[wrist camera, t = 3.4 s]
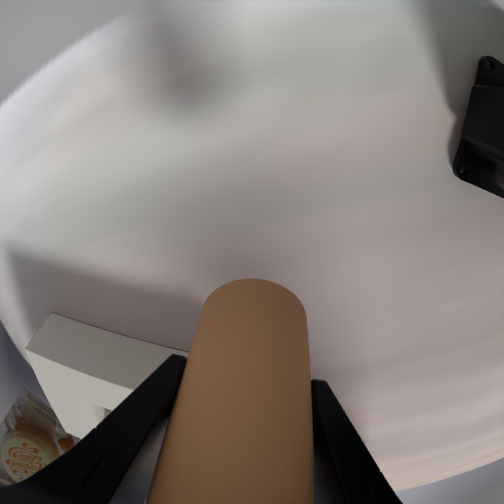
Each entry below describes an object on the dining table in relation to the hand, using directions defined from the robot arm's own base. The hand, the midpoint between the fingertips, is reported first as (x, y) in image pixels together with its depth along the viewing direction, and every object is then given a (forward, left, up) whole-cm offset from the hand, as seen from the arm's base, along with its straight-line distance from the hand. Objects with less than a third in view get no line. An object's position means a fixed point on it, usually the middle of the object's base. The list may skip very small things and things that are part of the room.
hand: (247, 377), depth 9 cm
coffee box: (+21, +29, -8) cm, 37 cm away
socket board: (+7, +15, -8) cm, 18 cm away
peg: (0, 0, -3) cm, 2 cm away
